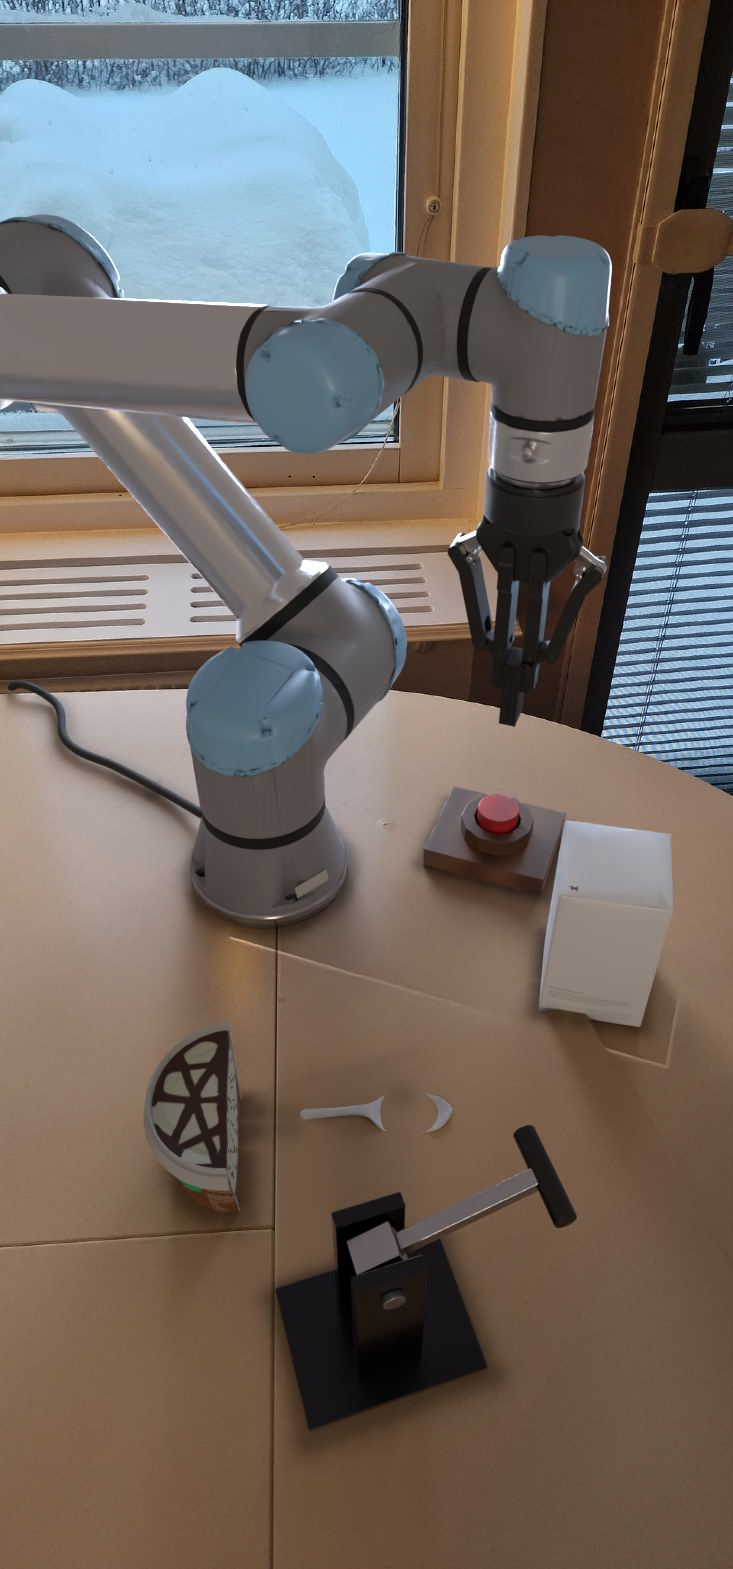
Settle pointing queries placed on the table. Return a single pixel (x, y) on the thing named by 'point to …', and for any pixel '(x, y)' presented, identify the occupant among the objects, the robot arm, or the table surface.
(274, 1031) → the table surface
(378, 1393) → the bracket
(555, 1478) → the table surface
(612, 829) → the rectangular carton
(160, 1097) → the food container
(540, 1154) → the lever
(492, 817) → the button
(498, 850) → the button block
